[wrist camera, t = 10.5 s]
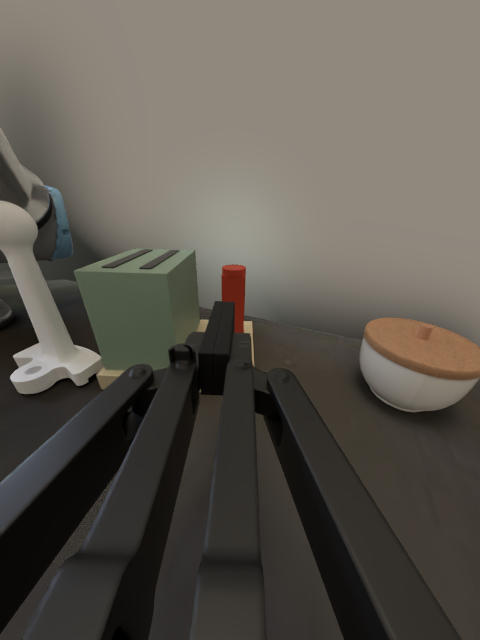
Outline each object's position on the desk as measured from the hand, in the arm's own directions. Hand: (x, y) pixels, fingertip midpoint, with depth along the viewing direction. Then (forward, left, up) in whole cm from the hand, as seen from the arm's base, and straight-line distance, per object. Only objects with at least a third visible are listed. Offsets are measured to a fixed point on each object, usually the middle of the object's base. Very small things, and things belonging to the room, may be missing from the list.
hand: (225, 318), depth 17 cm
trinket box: (+15, +15, -13) cm, 25 cm away
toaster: (-12, +7, -12) cm, 18 cm away
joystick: (-23, -6, -13) cm, 27 cm away
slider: (-7, +11, -10) cm, 17 cm away
